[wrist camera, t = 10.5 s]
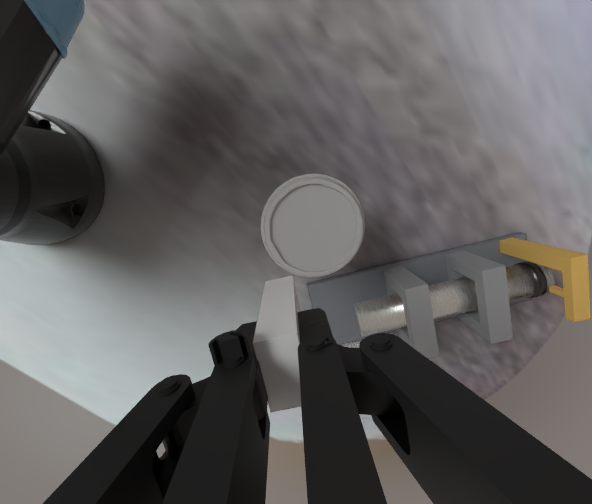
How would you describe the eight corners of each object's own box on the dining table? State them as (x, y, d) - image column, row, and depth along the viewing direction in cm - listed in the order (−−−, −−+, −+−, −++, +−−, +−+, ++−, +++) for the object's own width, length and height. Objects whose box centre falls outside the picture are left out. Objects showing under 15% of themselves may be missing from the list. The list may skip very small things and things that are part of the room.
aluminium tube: (357, 327, 39) (365, 344, 35) (350, 297, 38) (357, 310, 34) (528, 287, 39) (556, 299, 34) (525, 255, 38) (554, 264, 34)
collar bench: (322, 344, 42) (333, 398, 31) (307, 283, 40) (313, 318, 30) (525, 296, 41) (608, 335, 30) (519, 232, 39) (606, 249, 29)
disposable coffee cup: (267, 177, 37) (257, 173, 26) (345, 177, 38) (370, 172, 26) (269, 254, 39) (260, 282, 28) (344, 253, 40) (366, 281, 28)
